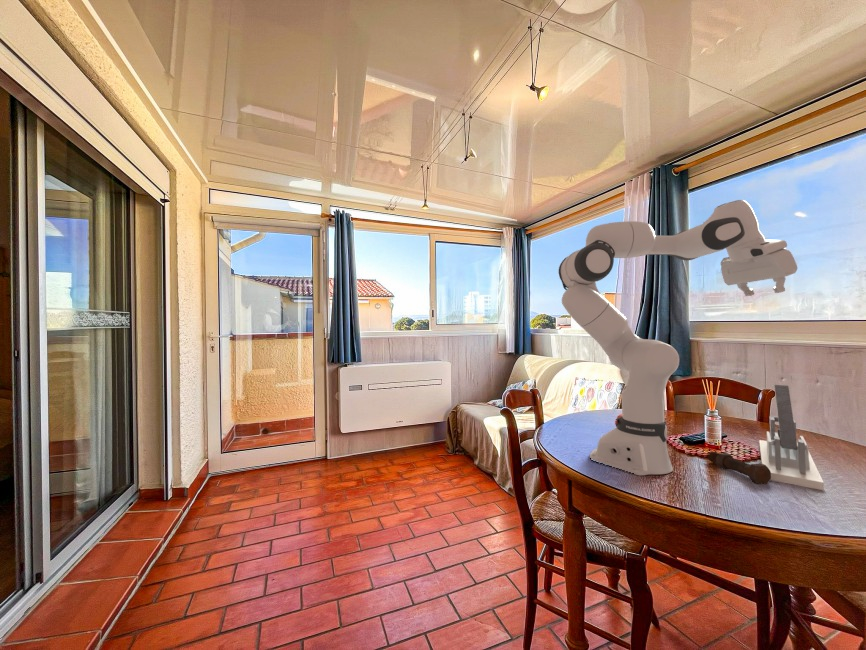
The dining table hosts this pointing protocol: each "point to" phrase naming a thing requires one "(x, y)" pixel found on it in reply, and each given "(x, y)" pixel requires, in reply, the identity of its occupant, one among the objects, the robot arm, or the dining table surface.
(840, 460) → the dining table surface
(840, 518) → the dining table surface
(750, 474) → the bolt
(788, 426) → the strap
